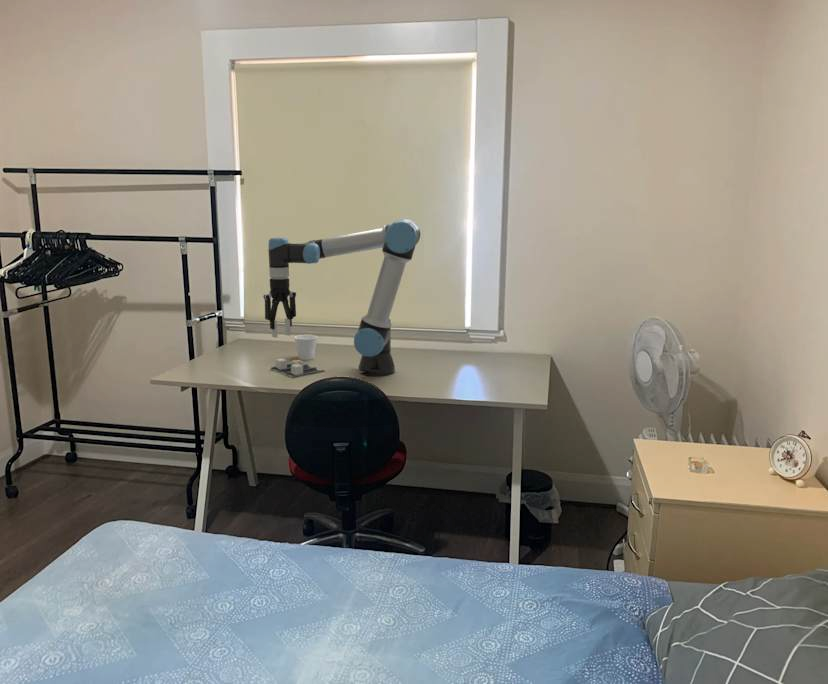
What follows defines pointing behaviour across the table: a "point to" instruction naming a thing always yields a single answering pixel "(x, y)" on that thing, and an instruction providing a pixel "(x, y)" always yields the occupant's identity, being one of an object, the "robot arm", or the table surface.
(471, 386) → the table surface
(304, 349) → the cup
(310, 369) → the panel
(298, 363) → the toggle
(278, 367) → the toggle
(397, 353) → the table surface
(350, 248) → the robot arm
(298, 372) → the toggle
